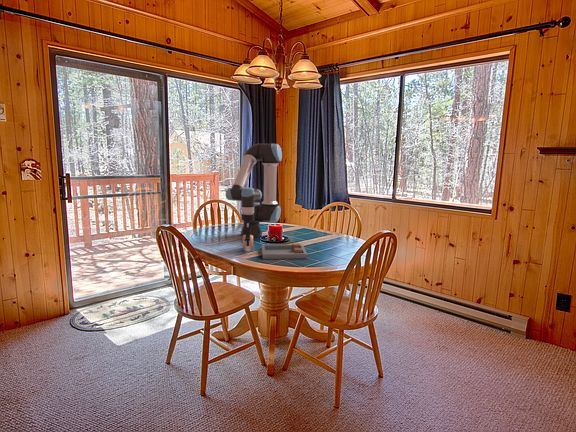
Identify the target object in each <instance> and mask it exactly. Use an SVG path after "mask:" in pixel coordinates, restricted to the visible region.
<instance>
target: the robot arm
mask: <svg viewBox="0 0 576 432" xmlns="http://www.w3.org/2000/svg"><path fill="white" fill-rule="evenodd" d="M282 151H283V150H282V148H281V146H280V145H279V144H278V143H255V144H253V145H252V146H250V147H249V148H248V149H247V150H246V151H245V153H244V154H243V156H242V163H241V164H240V167H239V170H238V173H237V174H236V177H235V179H234V182H233V183H232V187H231V188H226V190H225V198H226V200H228V201H234V202H235V201H237V202H241V208H240V210H241V220H242V222H243V223H242V228H241V231H240V236H241V237H243V235H246V239H244V241H245V242H246V251H245V252H247V251H248V252H251V251H250V235H253V238H257V237H261V236H262V235H263V232H262V228H261V224H260V223H261V222H265V223H270V224H271V223H278V221H279V219H280V218H281V212H282V209H281V206H280V205H279V203H278V201H277V175H278V174H277V172H278V171H277V169H278V168H277V167H278V165H279V164H280V162H281V161H282V159H283V152H282ZM257 162H261V164H262V165H263V193H262V191H261V190H260V189H258V188H254V187H246V186H247V182H248V179H249V178H250V175H251V172H252V170H253V168H254V166H255V165H256V164H257ZM262 196H263V201H261V204H260V202H259V201H260V200H261V199H262Z"/></svg>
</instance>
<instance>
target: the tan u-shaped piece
mask: <svg viewBox="0 0 576 432" xmlns="http://www.w3.org/2000/svg"><path fill="white" fill-rule="evenodd" d="M244 239H246V235H243V236H242V251H244V252H253V251H254V237H253V235H250V251H246V242H245V241H244Z"/></svg>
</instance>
